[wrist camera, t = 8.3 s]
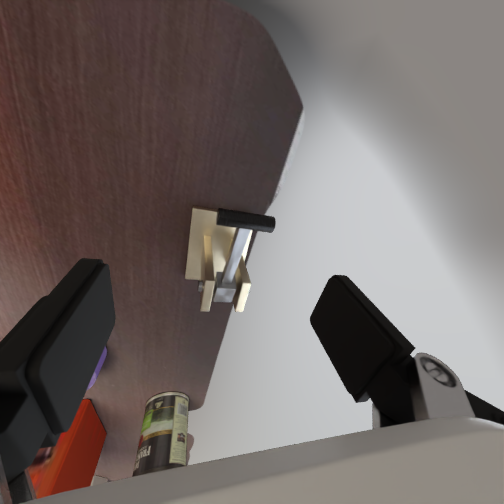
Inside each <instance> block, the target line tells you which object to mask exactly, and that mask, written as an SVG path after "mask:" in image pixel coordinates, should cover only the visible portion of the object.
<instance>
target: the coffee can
mask: <svg viewBox="0 0 504 504" xmlns="http://www.w3.org/2000/svg"><path fill="white" fill-rule="evenodd" d="M188 405H189V398H188V396H186V395H185V394H183V393H179V392H166V393H161V394H158V395H156V396H154V397H152V398H150V399H149V400H148V401H147V403H146V410H145V415H144V420H143V425H142V430H141V435H140V441H139V446H138V451H137V456H136V461H135V466H134V471H133V476H132V477H134V476H139V475H143V474H148V473H153V472H158V471H163V470H168V469H173V468H178V467H183V466H186V452H187V428H188Z"/></svg>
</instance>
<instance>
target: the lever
mask: <svg viewBox="0 0 504 504" xmlns="http://www.w3.org/2000/svg"><path fill="white" fill-rule="evenodd" d="M216 225H219V226H226V227H233V228H236V230H235V233H234V237H233V240H232V243H231V247H230V250H229V254H228V257H227V260H226V264H225V267H224V270H223V272H218V271H217V272H216V276H215V284H214V289H213V302H231V301H232V299H233V297H234V294H235V292H236V279H235V272H236V269H237V267H238V264H239V261H240V258H241V256H242V253H243V250H244V247H245V245H246V242H247V239H248V236H249V233H250V231H251V230H255V231H262V232H269V233H271V232H273V230H274V228H275V218H274V217H272V216H265V215H259V214H253V213H247V212H241V211H235V210H228V209H222V208H218V210H217V216H216Z"/></svg>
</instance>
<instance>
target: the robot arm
mask: <svg viewBox="0 0 504 504" xmlns="http://www.w3.org/2000/svg"><path fill="white" fill-rule="evenodd" d="M310 322H311V325H312V327H313V329H314V330H315V333H316V334H317V336H318V338H319V340H320V342H321V344H322V345H323V347H324V349H325V351H326V353H327V355H328V356H329V358H330V360H331V362H332V364H333V366H334V367H335V369H336V371H337V373H338V375H339V376H340V378H341V380H342V382H343V384H344V386H345V387H346V389H347V391H348V392H349V393H350V394H351V395H352V396H353V398H354V400H355V401H356V403H358V402H365V401H367V400H368V399H369V398H371V400H372V402H373V404H372V406H373V410H372V411H373V429H372V430H367V431H362V432H357V433H351V434H346V435H341V436H336V437H331V438H325V439H320V440H315V441H310V442H305V443H300V444H294V445H289V446H284V447H279V448H274V449H269V450H264V451H259V452H253V453H249V454H243V455H238V456H233V457H228V458H223V459H219V460H213V461H209V462H203V463H198V464H193V465H188V466H183V467H178V468H173V469H168V470H163V471H158V472H153V473H148V474H143V475H139V476H134V477H130V478H125V479H121V480H116V481H111V482H107V483H102V484H98V485H93V486H89V487H84V488H80V489H75V490H70V491H66V492H61V493H58V494H54V495H50V496H46V497H43V498H39V499H37V496H36V493H35V490H34V487H33V484H32V480H31V477H30V474H29V471H28V468H27V467H29V466H30V465H31V464H32V463H33V461H34V459H35V457H36V454H37V452H38V450H39V449H41V448H48V447H54V446H56V444H57V441H58V439H59V437H60V435H61V433H64V432H67V431H68V430H69V428H70V427H71V425H72V423H73V420H74V418H75V416H76V413H77V411H78V409H79V406H80V404H81V402H82V399H83V397H84V395H85V392H86V390H87V388H88V385H89V383H90V381H91V378H92V376H93V374H94V371H95V369H96V367H97V364H98V362H99V360H100V357H101V355H102V353H103V350H104V348H105V346H106V343H107V341H108V339H109V336H110V334H111V332H112V329H113V327H114V324H115V310H114V302H113V294H112V286H111V278H110V270H109V265H108V264H104V263H103V261H102V260H101V259H85V258H82V259H80V260H79V261H78V262H77V263H76V264H75V266H74V267H73V268H72V269H71V270H70V271H69V272H68V274H67V275H66V276H65V277H64V278H63V279H62V280H61V281H60V283H59V284H58V285H57V286H56V287H55V288H54V289H53V290H52V292H51V293H50V294H49V295H48V296H44V297H42V298H41V299H40V300H39V301H37V303H36V304H35V305H34V306H33V307H32V308H31V309H30V310H29V311H28V312H27V313H26V315H25V316H24V317H23V318H22V319H21V320H20V321H19V322H18V323H17V324H16V325H15V327H14V328H13V329H12V330H11V331H10V332H9V333H8V334H7V335H6V336H5V338H4V339H3V340H2V341H1V342H0V504H504V412H503V411H501V410H500V409H498V408H496V407H494V406H493V405H491V404H489V403H487V402H485V401H484V400H482V399H480V398H478V397H476V396H475V395H473V394H471V393H469V392H468V391H466V390H464V388H463V386H462V384H461V382H460V380H459V378H458V377H457V376H456V374H455V373H454V372H453V371H452V370H451V369H450V368H449V367H448V366H447V365H445V364H444V363H443V362H442V361H440V360H439V359H437V358H435V357H433V356H431V355H429V354H426V353H417V354H416V355H415V356H414V357H412V356H411V355H410V354H411V353H412V351H413V350H414V349H415V347H414V346H413V345H412V344H411V343H410V342H409V341H408V340H407V339H406V338H405V337H404V336H403V335H402V333H401V332H399V330H398V329H397V328H396V327H395V326H394V325H393V324H392V323H391V322H390V321H389V320H388V319H387V318H386V317H385V316H384V314H383V313H382V312H380V310H379V309H378V308H377V307H376V306H375V305H374V304H373V303H372V302H371V301H370V300H369V299H368V298H367V297H366V296H365V294H364V293H363V292H362V291H361V290H360V289H359V288H358V287H357V286H356V285H355V284H354V283H353V282H352V281H351V280H350V279H349V278H348V277H347V276H344V275H343V276H342V275H334V276H332V277H331V278H330V279H329V280H328V282H327V284H326V286H325V288H324V290H323V292H322V294H321V296H320V298H319V300H318V302H317V304H316V306H315V309H314V310H313V312H312V315H311V317H310Z"/></svg>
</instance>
